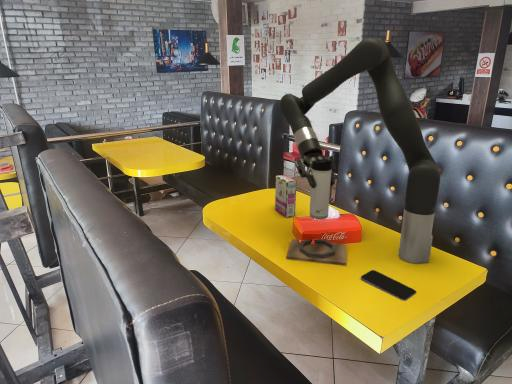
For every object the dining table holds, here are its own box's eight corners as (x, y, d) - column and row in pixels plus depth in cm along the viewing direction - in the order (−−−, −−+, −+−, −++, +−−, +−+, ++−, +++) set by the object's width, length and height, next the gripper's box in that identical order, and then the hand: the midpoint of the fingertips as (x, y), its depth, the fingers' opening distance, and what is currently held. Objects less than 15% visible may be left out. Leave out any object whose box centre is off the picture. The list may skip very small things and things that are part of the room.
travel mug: (320, 221, 121) (323, 162, 115) (305, 215, 126) (308, 158, 120) (332, 217, 125) (336, 159, 119) (318, 211, 130) (321, 155, 124)
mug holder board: (346, 246, 134) (347, 240, 133) (346, 265, 121) (347, 258, 120) (291, 241, 138) (291, 235, 138) (285, 258, 125) (286, 252, 125)
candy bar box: (295, 216, 162) (297, 180, 157) (285, 218, 160) (286, 182, 155) (284, 208, 172) (285, 174, 167) (274, 209, 170) (275, 175, 165)
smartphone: (404, 300, 102) (359, 277, 113) (403, 304, 103) (358, 280, 113) (418, 291, 107) (373, 269, 117) (417, 294, 107) (372, 272, 118)
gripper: (292, 138, 122) (308, 182, 115) (330, 135, 127) (347, 178, 120) (285, 151, 128) (300, 193, 121) (321, 148, 133) (337, 189, 126)
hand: (323, 185), depth 121 cm, fingers closed on travel mug, 6 cm apart
